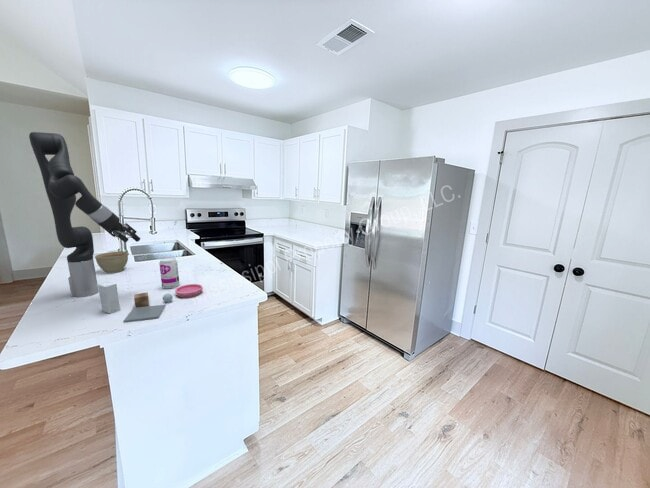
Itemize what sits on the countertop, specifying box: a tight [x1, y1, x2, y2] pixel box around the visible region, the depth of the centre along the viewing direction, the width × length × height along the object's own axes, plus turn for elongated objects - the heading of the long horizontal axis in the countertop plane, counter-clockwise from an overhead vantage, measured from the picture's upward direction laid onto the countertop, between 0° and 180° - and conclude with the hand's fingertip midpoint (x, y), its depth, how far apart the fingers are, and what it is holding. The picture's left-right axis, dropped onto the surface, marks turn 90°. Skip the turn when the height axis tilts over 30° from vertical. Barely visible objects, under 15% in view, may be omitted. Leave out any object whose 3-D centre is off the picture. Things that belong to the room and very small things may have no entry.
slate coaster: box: [123, 304, 166, 323], centre depth 111 cm, size 12×12×1 cm
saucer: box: [174, 283, 204, 298], centre depth 133 cm, size 12×12×3 cm
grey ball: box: [162, 293, 174, 303], centre depth 122 cm, size 4×4×4 cm
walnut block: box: [133, 291, 150, 308], centre depth 118 cm, size 5×5×5 cm
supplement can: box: [159, 257, 180, 289], centre depth 141 cm, size 8×8×15 cm
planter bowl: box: [94, 251, 129, 274], centre depth 164 cm, size 16×16×11 cm
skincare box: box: [97, 281, 121, 314], centre depth 112 cm, size 6×4×12 cm
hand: (132, 240), depth 128 cm, fingers open, 8 cm apart
